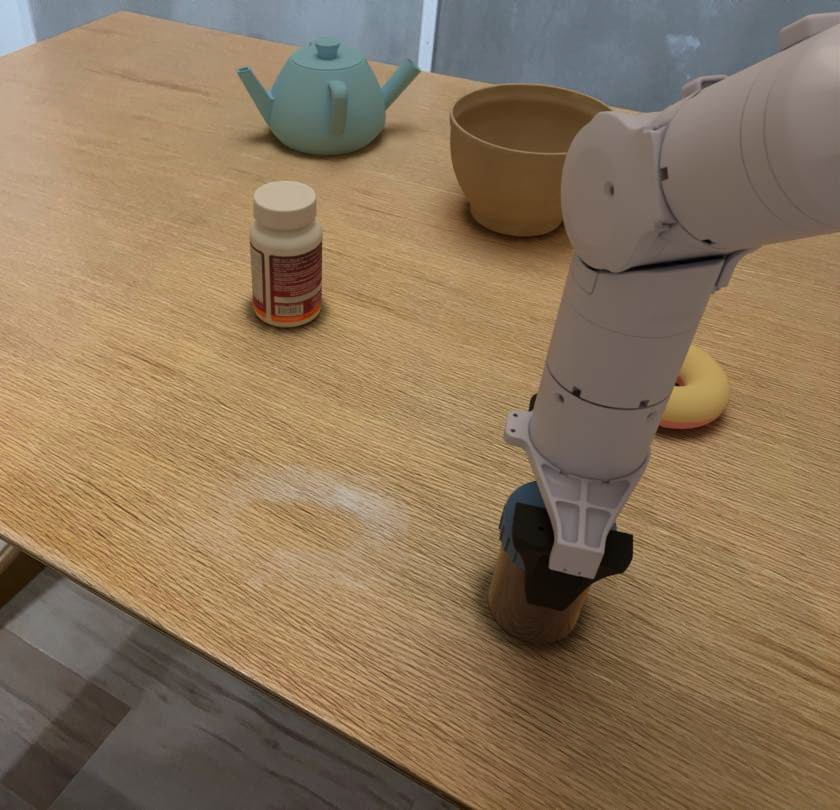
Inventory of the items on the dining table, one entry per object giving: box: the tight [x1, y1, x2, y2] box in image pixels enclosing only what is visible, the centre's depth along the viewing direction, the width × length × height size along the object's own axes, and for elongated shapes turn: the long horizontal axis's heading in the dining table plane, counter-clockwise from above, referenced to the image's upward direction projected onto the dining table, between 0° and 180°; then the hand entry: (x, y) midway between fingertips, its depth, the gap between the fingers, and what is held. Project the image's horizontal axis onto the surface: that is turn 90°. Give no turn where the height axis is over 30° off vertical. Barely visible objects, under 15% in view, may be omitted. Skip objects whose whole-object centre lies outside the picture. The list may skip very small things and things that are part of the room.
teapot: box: [235, 36, 422, 156], centre depth 98 cm, size 15×17×11 cm
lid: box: [498, 480, 618, 572], centre depth 46 cm, size 6×6×2 cm
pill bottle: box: [248, 180, 324, 328], centre depth 70 cm, size 6×6×11 cm
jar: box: [487, 542, 592, 645], centre depth 48 cm, size 5×5×8 cm
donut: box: [658, 343, 731, 430], centre depth 64 cm, size 10×5×9 cm
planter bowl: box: [449, 82, 615, 238], centre depth 83 cm, size 16×16×11 cm
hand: (550, 552), depth 47 cm, fingers open, 6 cm apart
